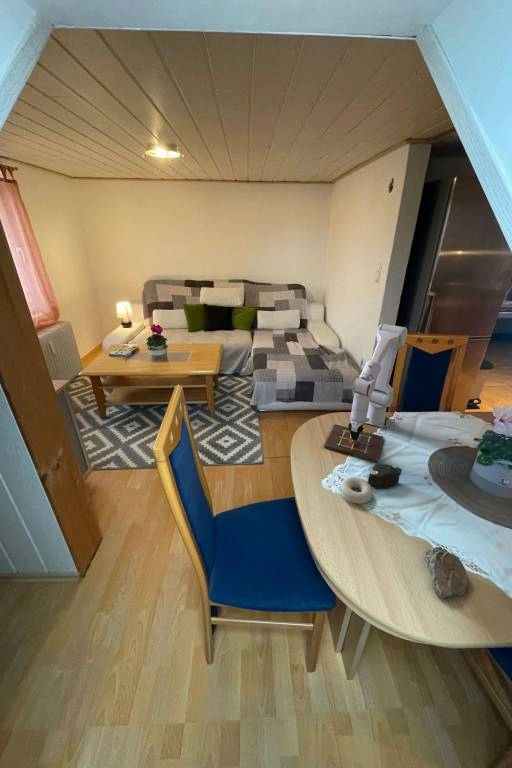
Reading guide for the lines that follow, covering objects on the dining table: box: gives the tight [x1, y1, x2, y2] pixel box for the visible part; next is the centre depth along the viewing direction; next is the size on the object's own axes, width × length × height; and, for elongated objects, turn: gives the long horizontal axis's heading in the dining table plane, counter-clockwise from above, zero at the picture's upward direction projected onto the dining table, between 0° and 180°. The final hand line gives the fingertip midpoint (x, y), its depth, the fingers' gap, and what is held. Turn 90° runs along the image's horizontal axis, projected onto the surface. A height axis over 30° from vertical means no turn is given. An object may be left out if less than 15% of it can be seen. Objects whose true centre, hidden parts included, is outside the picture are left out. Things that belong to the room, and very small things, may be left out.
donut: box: [340, 476, 373, 505], centre depth 98 cm, size 10×4×10 cm
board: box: [324, 423, 384, 464], centre depth 121 cm, size 16×20×1 cm
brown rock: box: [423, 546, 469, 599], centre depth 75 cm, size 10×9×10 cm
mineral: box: [367, 463, 403, 490], centre depth 101 cm, size 10×9×6 cm
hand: (355, 436), depth 120 cm, fingers closed on alphabet block, 4 cm apart
